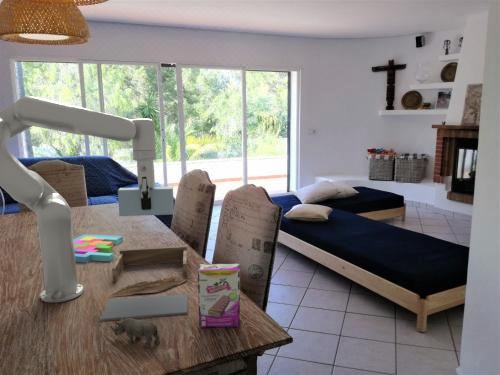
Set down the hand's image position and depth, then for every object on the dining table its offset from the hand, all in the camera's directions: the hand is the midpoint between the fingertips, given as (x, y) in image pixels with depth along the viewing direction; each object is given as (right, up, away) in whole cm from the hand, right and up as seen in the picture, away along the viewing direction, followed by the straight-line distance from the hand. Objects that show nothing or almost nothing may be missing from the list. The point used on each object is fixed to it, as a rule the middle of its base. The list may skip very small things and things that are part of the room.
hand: (147, 207), depth 138 cm
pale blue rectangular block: (0, -2, 0) cm, 2 cm away
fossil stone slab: (+2, -27, -6) cm, 28 cm away
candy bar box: (+28, -30, -29) cm, 51 cm away
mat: (+5, -29, -20) cm, 35 cm away
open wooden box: (0, -24, +9) cm, 26 cm away
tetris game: (-31, -21, +33) cm, 50 cm away
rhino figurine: (+6, -32, -37) cm, 50 cm away
